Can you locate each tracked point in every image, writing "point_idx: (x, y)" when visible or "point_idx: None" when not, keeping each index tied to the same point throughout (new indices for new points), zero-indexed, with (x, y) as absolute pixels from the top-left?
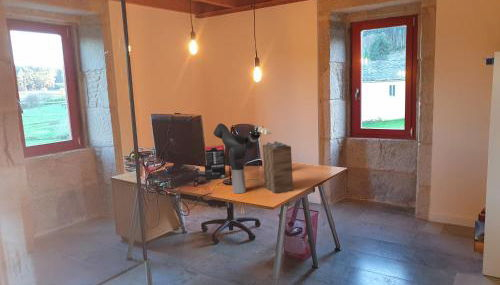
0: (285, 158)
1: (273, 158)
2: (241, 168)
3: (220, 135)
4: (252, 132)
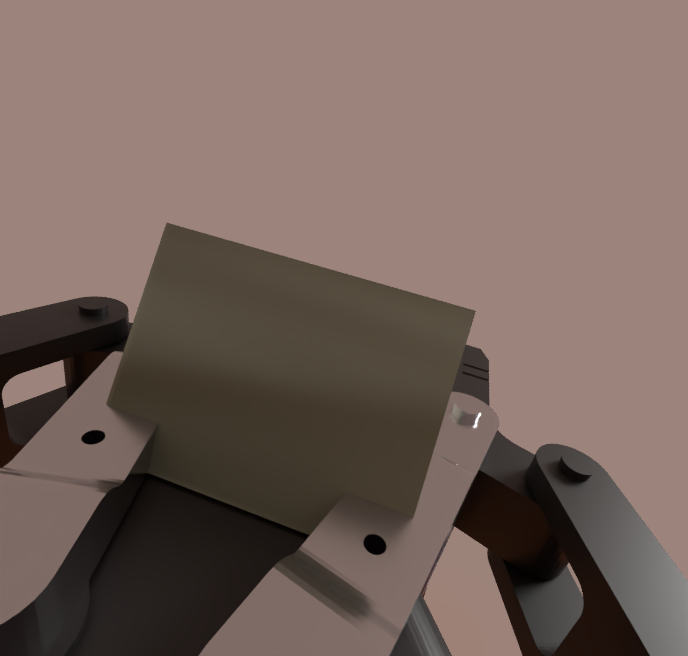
0: None
1: None
2: None
3: None
4: (574, 599)
